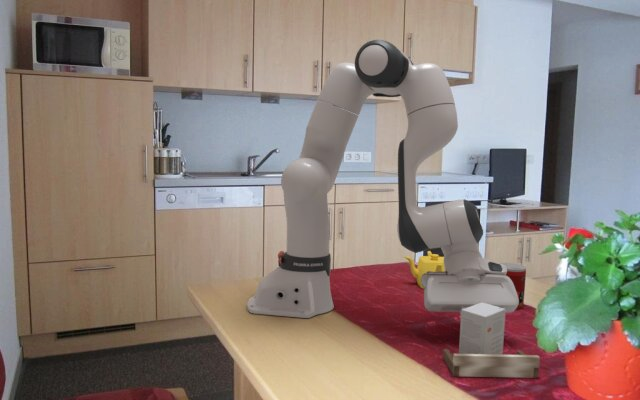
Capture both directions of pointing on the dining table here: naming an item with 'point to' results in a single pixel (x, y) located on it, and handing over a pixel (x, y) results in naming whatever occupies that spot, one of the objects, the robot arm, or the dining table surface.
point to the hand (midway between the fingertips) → (476, 328)
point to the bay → (492, 365)
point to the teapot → (426, 265)
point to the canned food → (517, 280)
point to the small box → (482, 329)
